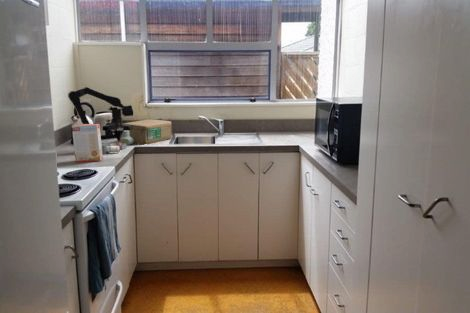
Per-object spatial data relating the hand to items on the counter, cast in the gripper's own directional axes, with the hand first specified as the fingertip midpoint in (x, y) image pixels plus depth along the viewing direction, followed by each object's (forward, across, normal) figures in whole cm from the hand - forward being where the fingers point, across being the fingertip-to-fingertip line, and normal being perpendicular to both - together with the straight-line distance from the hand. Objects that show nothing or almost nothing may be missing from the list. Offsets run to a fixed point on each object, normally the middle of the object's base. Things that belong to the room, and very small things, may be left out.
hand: (118, 140), depth 271 cm
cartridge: (+5, -1, -13) cm, 14 cm away
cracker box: (+6, -2, -35) cm, 35 cm away
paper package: (+6, +7, +33) cm, 34 cm away
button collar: (+5, 0, 0) cm, 5 cm away
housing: (+5, -5, -13) cm, 15 cm away
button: (+5, 0, 0) cm, 5 cm away
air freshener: (+6, -2, +15) cm, 16 cm away
